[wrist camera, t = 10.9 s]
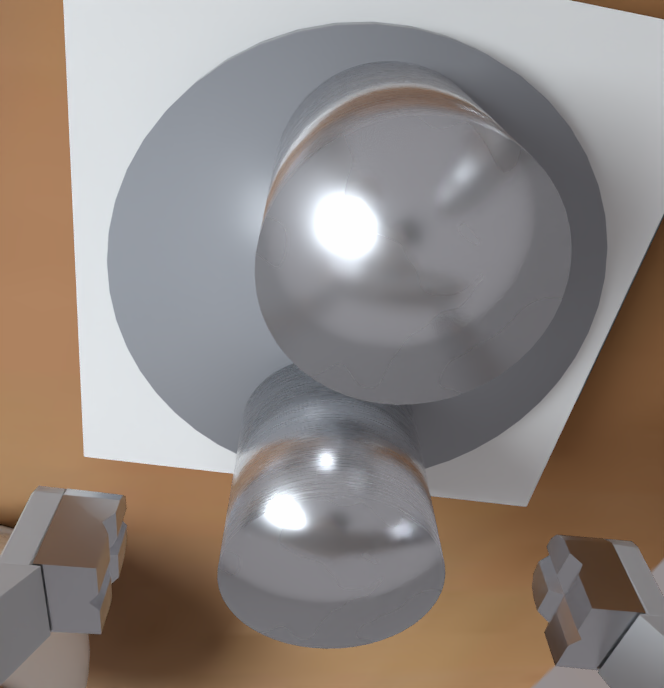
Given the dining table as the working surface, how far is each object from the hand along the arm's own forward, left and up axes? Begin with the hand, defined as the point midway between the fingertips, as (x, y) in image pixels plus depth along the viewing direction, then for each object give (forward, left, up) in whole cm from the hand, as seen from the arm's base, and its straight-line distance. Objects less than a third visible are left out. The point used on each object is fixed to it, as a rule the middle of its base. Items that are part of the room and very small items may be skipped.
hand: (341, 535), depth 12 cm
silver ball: (-5, 0, -5) cm, 8 cm away
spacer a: (+2, 0, -5) cm, 6 cm away
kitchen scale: (-2, 0, -9) cm, 10 cm away
